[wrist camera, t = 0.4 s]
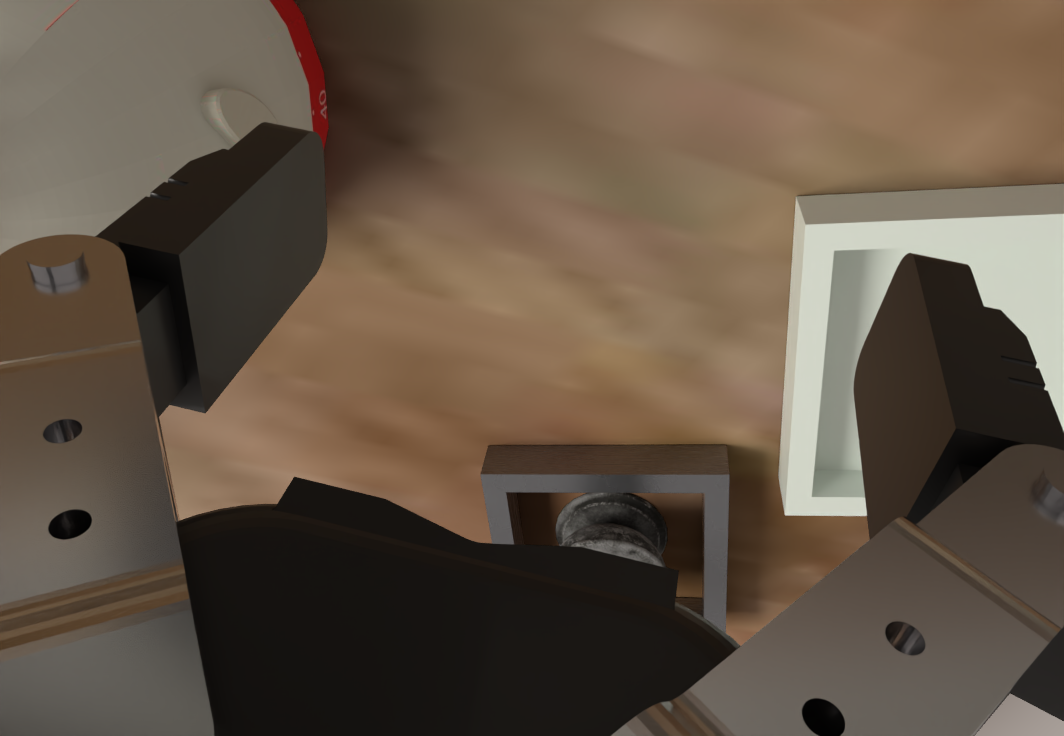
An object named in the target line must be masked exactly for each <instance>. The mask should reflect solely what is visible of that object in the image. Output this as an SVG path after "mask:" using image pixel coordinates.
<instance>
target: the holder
mask: <svg viewBox="0 0 1064 736" xmlns="http://www.w3.org/2000/svg"><path fill="white" fill-rule="evenodd" d="M481 480H482V486H483V492H484V498H485V504H486V509H487V515H488V521H489V527H490V533H491V539H492V544H516V545H524V539H523V532H522V525H521V518H520V511H519V505H518V498H517V492H560V493H703V563H702V598H676V599H675V602H677V603H679V604H681V605H683V606H685V607H687V608H689V609H691V610H692V611H694V612H696V613H697V614H699V615H700V616H702V617H704V618H705V619H707V620H708V621H710V622H712V623H713V624H714V625H716V626H717V627H718V628H720V629H721V630H722V631H723V632H725V633H726V595H727V555H728V514H729V465H728V455H727V445H573V446H488V448H487V452H486V456H485V460H484V463H483V467H482V471H481Z"/></svg>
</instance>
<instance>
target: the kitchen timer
mask: <svg viewBox="0 0 1064 736" xmlns="http://www.w3.org/2000/svg"><path fill="white" fill-rule="evenodd" d="M263 122H268V123H273V124H278V125H283V126H288V127H293V128H298V129H303V130H308V131H313V132H316V133H318V134H319V136H320V138H321V140H322V143H323V149H324V148H325V143H326V138H327V133H328V128H329V125H328V114H327V103H326V91H325V80H324V72H323V69H322V66H321V63H320V60H319V58H318V55H317V52H316V49H315V47H314V44H313V41H312V38H311V36H310V33H309V30H308V27H307V24H306V22H305V19H304V16H303V14H302V13H301V11H300V10H299V8H298V7H297V5H296V4H295V2H294V1H293V0H0V255H1V254H2V253H3V252H5V251H7V250H9V249H10V248H12V247H14V246H16V245H19V244H21V243H24V242H27V241H30V240H33V239H37V238H41V237H47V236H53V235H64V234H79V235H89V236H94V237H95V236H96V235H98V234H99V233H100V232H102V231H103V230H104V229H105V228H107V227H108V226H109V225H110V224H112V223H113V222H114V221H115V220H117V219H118V218H119V217H120V216H122V215H123V214H124V213H125V212H127V211H128V210H129V209H130V208H132V207H133V206H134V205H135V204H137V203H138V202H139V201H140V200H142V199H143V198H144V197H145V196H147V197H150V192H152V191H153V190H154V189H156V188H157V187H158V186H159V185H161V184H162V183H163V182H167V183H168V178H169V177H171V176H172V175H173V174H174V173H176V172H177V171H178V170H179V169H181V168H182V167H183V166H184V165H186V164H187V163H188V162H189V161H191V160H194V159H197V158H199V157H202V156H205V155H207V154H210V153H213V152H215V151H218V150H221V149H227V150H229V149H230V148H231V147H232V146H234V145H235V144H236V143H237V142H238V141H240V140H241V139H242V138H243V137H244V136H246V135H247V134H248V133H249V132H250V131H252V130H253V129H254V128H255V127H257V126H258V125H259V124H261V123H263Z"/></svg>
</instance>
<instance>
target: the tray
mask: <svg viewBox="0 0 1064 736" xmlns="http://www.w3.org/2000/svg"><path fill="white" fill-rule="evenodd" d="M908 253H913V254H918V255H923V256H928V257H933V258H938V259H943V260H948V261H953V262H958V263H963V264H967V265H969V266H970V268H971V270H972V273H973V276H974V279H975V282H976V285H977V288H978V291H979V294H980V296H981V299H982V302H983V305H984V306H985V307H989V308H994V309H999V310H1002V312H1003V313H1004V314H1005V315H1006V316H1007V317H1008V318H1009V319H1010V320H1011V321H1012V322H1013V323H1014V324H1015V325H1016V326H1017V327H1018V328H1019V329H1020V330H1021V331H1022V332H1023V333H1024V334H1025V335H1026V336H1027V339H1028V341H1029V344H1030V346H1031V349H1032V351H1033V354H1034V356H1035V359H1036V362H1037V364H1036V368H1039V369H1040V372H1041V374H1042V377H1043V380H1044V382H1045V388H1044V390H1047V391H1048V392H1049V395H1050V398H1051V400H1052V403H1053V405H1054V408H1055V410H1056V413H1057V415H1058V418H1059V421H1060V423H1061V426H1062V428H1063V431H1064V184H1045V185H1024V186H1003V187H982V188H960V189H939V190H918V191H897V192H876V193H854V194H833V195H812V196H796V206H795V222H794V237H793V253H792V269H791V285H790V301H789V316H788V332H787V348H786V364H785V380H784V395H783V411H782V427H781V443H780V459H779V474H778V477H779V483H780V489H781V495H782V501H783V507H784V513H785V515H803V516H867V510H866V501H865V492H864V483H863V474H862V465H861V456H860V447H859V438H858V429H857V420H856V411H855V402H854V391H853V390H854V377H855V371H856V367H857V362H858V359H859V355H860V353H861V350H862V347H863V345H864V342H865V340H866V338H867V335H868V333H869V331H870V329H871V326H872V324H873V322H874V319H875V317H876V315H877V312H878V310H879V308H880V306H881V303H882V301H883V299H884V296H885V294H886V292H887V289H888V287H889V285H890V282H891V280H892V278H893V276H894V273H895V271H896V269H897V267H898V265H899V263H900V261H901V260H902V258H903V257H904V256H905V255H906V254H908Z"/></svg>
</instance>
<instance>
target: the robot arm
mask: <svg viewBox="0 0 1064 736" xmlns="http://www.w3.org/2000/svg"><path fill="white" fill-rule="evenodd" d="M326 243H327V212H326V189H325V166H324V149H323V143H322V140H321V138H320V136H319V134H318V133H316V132H313V131H308V130H303V129H298V128H293V127H288V126H283V125H278V124H273V123H268V122H263V123H261V124H259V125H258V126H257V127H255V128H254V129H253V130H252V131H250V132H249V133H248V134H247V135H246V136H244V137H243V138H242V139H241V140H240V141H238V142H237V143H236V144H235V145H234V146H232V147H231V148H230V149H229V150H227V149H221V150H218V151H215V152H213V153H210V154H207V155H205V156H202V157H199V158H197V159H194V160H191V161H189V162H188V163H187V164H186V165H184V166H183V167H182V168H181V169H179V170H178V171H177V172H176V173H174V174H173V175H172V176H171V177H169V178H168V183H167V182H163V183H162V184H161V185H159V186H158V187H157V188H156V189H154V190H153V191H152V192H150V197H147V196H145V197H144V198H143V199H142V200H140V201H139V202H138V203H137V204H135V205H134V206H133V207H132V208H130V209H129V210H128V211H127V212H125V213H124V214H123V215H122V216H120V217H119V218H118V219H117V220H115V221H114V222H113V223H112V224H110V225H109V226H108V227H107V228H105V229H104V230H103V231H102V232H100V233H99V234H98V235H96V236H95V237H94V236H89V235H79V234H64V235H53V236H47V237H41V238H37V239H33V240H30V241H27V242H24V243H21V244H19V245H16V246H14V247H12V248H10V249H9V250H7V251H5V252H3V253H2V254H1V255H0V736H975V735H976V733H977V732H978V731H979V730H980V729H981V727H982V726H983V725H984V724H985V723H986V721H987V720H988V719H989V718H990V717H991V715H992V714H993V713H994V712H995V710H996V709H997V708H998V707H999V706H1000V705H1001V703H1002V702H1003V701H1004V700H1005V699H1006V697H1007V696H1008V695H1009V694H1010V693H1011V694H1013V695H1015V696H1016V697H1018V698H1020V699H1022V700H1024V701H1026V702H1028V703H1030V704H1032V705H1034V706H1036V707H1038V708H1039V709H1041V710H1043V711H1045V712H1047V713H1049V714H1051V715H1053V716H1055V717H1057V718H1059V719H1061V720H1062V721H1064V431H1063V428H1062V426H1061V423H1060V421H1059V418H1058V415H1057V413H1056V410H1055V408H1054V405H1053V403H1052V400H1051V398H1050V395H1049V392H1048V391H1047V390H1044V388H1045V382H1044V380H1043V377H1042V374H1041V372H1040V369H1039V368H1036V364H1037V362H1036V359H1035V356H1034V354H1033V351H1032V349H1031V346H1030V344H1029V341H1028V339H1027V336H1026V335H1025V334H1024V333H1023V332H1022V331H1021V330H1020V329H1019V328H1018V327H1017V326H1016V325H1015V324H1014V323H1013V322H1012V321H1011V320H1010V319H1009V318H1008V317H1007V316H1006V315H1005V314H1004V313H1003V312H1002V310H999V309H994V308H989V307H985V306H984V305H983V302H982V299H981V296H980V294H979V291H978V288H977V285H976V282H975V279H974V276H973V273H972V270H971V268H970V266H969V265H967V264H963V263H958V262H953V261H948V260H943V259H938V258H933V257H928V256H923V255H918V254H913V253H908V254H906V255H905V256H904V257H903V258H902V260H901V261H900V263H899V265H898V267H897V269H896V271H895V273H894V276H893V278H892V280H891V282H890V285H889V287H888V289H887V292H886V294H885V296H884V299H883V301H882V303H881V306H880V308H879V310H878V312H877V315H876V317H875V319H874V322H873V324H872V326H871V329H870V331H869V333H868V335H867V338H866V340H865V342H864V345H863V347H862V350H861V353H860V355H859V359H858V362H857V367H856V371H855V377H854V390H853V391H854V402H855V411H856V420H857V429H858V438H859V447H860V456H861V465H862V474H863V483H864V492H865V501H866V510H867V519H868V528H869V537H870V540H869V541H868V542H867V543H865V544H864V545H863V546H862V547H860V548H859V549H858V550H857V551H856V552H854V553H853V554H852V555H851V556H850V557H848V558H847V559H846V560H845V561H844V562H842V563H841V564H840V565H839V566H837V567H836V568H835V569H834V570H833V571H831V572H830V573H829V574H828V575H827V576H825V577H824V578H823V579H822V580H820V581H819V582H818V583H817V584H816V585H814V586H813V587H812V588H811V589H810V590H808V591H807V592H806V593H805V594H803V595H802V596H801V597H800V598H799V599H797V600H796V601H795V602H794V603H793V604H791V605H790V606H789V607H788V608H787V609H785V610H784V611H783V612H782V613H780V614H779V615H778V616H777V617H776V618H774V619H773V620H772V621H771V622H770V623H768V624H767V625H766V626H765V627H763V628H762V629H761V630H760V631H759V632H757V633H756V634H755V635H754V636H753V637H751V638H750V639H749V640H748V641H746V642H745V643H744V644H743V645H742V646H740V645H739V644H738V643H737V642H736V641H735V640H734V639H733V638H731V637H730V636H729V635H727V634H726V633H725V632H723V631H722V630H721V629H720V628H718V627H717V626H716V625H714V624H713V623H712V622H710V621H708V620H707V619H705V618H704V617H702V616H700V615H699V614H697V613H696V612H694V611H692V610H691V609H689V608H687V607H685V606H683V605H681V604H679V603H677V602H675V599H676V590H677V581H678V572H679V571H678V570H674V569H670V568H665V567H661V566H657V565H653V564H649V563H645V562H641V561H637V560H633V559H629V558H625V557H620V556H616V555H612V554H608V553H604V552H600V551H596V550H592V549H588V548H584V547H572V546H544V545H516V544H489V543H478V542H474V541H471V540H468V539H466V538H464V537H462V536H460V535H458V534H455V533H453V532H451V531H449V530H447V529H445V528H443V527H441V526H439V525H437V524H435V523H433V522H431V521H429V520H427V519H425V518H423V517H421V516H419V515H417V514H415V513H413V512H411V511H409V510H407V509H405V508H403V507H401V506H399V505H396V504H394V503H392V502H390V501H388V500H386V499H383V498H379V497H375V496H371V495H367V494H363V493H359V492H354V491H350V490H346V489H342V488H338V487H334V486H330V485H326V484H322V483H318V482H314V481H309V480H305V479H301V478H297V477H294V478H293V480H292V481H291V483H290V485H289V486H288V488H287V489H286V491H285V493H284V494H283V496H282V498H281V499H280V501H279V502H278V504H257V505H242V506H236V507H230V508H223V509H218V510H214V511H210V512H206V513H202V514H198V515H195V516H192V517H189V518H186V519H183V520H180V519H179V514H178V509H177V504H176V499H175V494H174V489H173V484H172V479H171V474H170V469H169V464H168V459H167V454H166V449H165V444H164V439H163V434H162V429H161V424H160V420H159V416H160V415H161V414H162V413H163V411H164V410H165V409H166V408H167V407H168V406H169V405H173V406H177V407H181V408H185V409H190V410H194V411H198V412H202V413H206V412H207V411H208V409H209V408H210V407H211V406H212V404H213V403H214V402H215V401H216V399H217V398H218V397H219V396H220V394H221V393H222V392H223V391H224V389H225V388H226V387H227V386H228V384H229V383H230V382H231V380H232V379H233V378H234V377H235V375H236V374H237V373H238V372H239V370H240V369H241V368H242V367H243V365H244V364H245V363H246V362H247V360H248V359H249V358H250V357H251V355H252V354H253V353H254V352H255V350H256V349H257V348H258V346H259V345H260V344H261V343H262V341H263V340H264V339H265V338H266V336H267V335H268V334H269V333H270V331H271V330H272V329H273V328H274V326H275V325H276V324H277V323H278V321H279V320H280V319H281V317H282V316H283V315H284V314H285V312H286V311H287V310H288V309H289V307H290V306H291V305H292V304H293V302H294V301H295V300H296V299H297V297H298V296H299V295H300V294H301V292H302V291H303V290H304V289H305V287H306V286H307V285H308V283H309V282H310V281H311V280H312V278H313V277H314V276H315V275H316V273H317V272H318V270H319V268H320V266H321V263H322V260H323V258H324V254H325V249H326Z"/></svg>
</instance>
